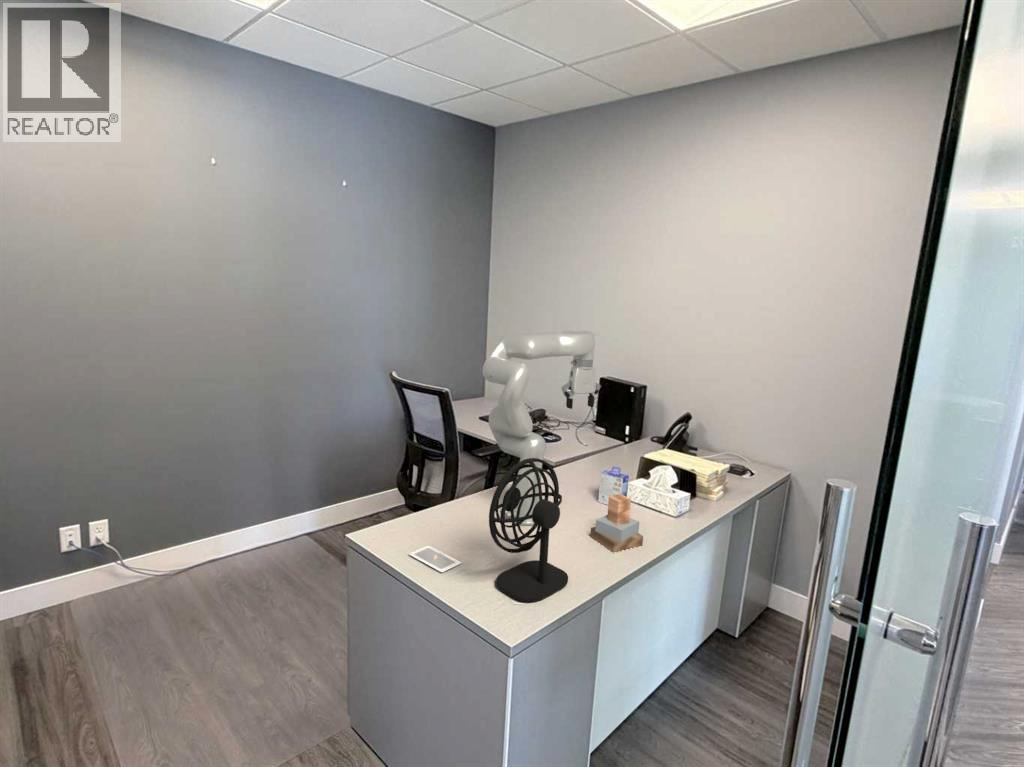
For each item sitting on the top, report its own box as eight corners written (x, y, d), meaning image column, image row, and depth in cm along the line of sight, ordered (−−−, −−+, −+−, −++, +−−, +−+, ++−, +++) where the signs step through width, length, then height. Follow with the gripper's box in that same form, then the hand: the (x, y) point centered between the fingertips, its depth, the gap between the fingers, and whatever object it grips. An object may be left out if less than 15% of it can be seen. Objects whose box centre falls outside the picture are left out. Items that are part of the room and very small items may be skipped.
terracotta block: (617, 525, 172) (618, 501, 171) (607, 519, 177) (608, 496, 175) (629, 522, 175) (630, 499, 173) (619, 516, 179) (620, 493, 178)
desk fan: (539, 554, 167) (546, 445, 160) (585, 577, 154) (593, 460, 148) (473, 585, 148) (477, 463, 142) (518, 614, 136) (524, 482, 129)
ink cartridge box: (627, 505, 208) (630, 469, 205) (620, 509, 204) (623, 473, 201) (604, 498, 214) (606, 463, 211) (597, 502, 209) (600, 466, 207)
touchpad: (441, 576, 153) (442, 569, 152) (408, 557, 162) (408, 550, 162) (461, 566, 159) (462, 559, 158) (428, 548, 168) (428, 542, 168)
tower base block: (613, 554, 169) (613, 543, 169) (590, 538, 180) (590, 527, 179) (642, 547, 175) (643, 536, 174) (618, 532, 185) (619, 521, 185)
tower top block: (620, 542, 170) (621, 530, 169) (595, 531, 177) (596, 519, 176) (638, 533, 177) (639, 521, 176) (613, 522, 184) (613, 511, 183)
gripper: (568, 365, 199) (566, 410, 202) (607, 364, 206) (604, 408, 209) (558, 362, 205) (555, 406, 208) (596, 361, 213) (593, 404, 216)
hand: (580, 407), depth 209 cm, fingers open, 9 cm apart
